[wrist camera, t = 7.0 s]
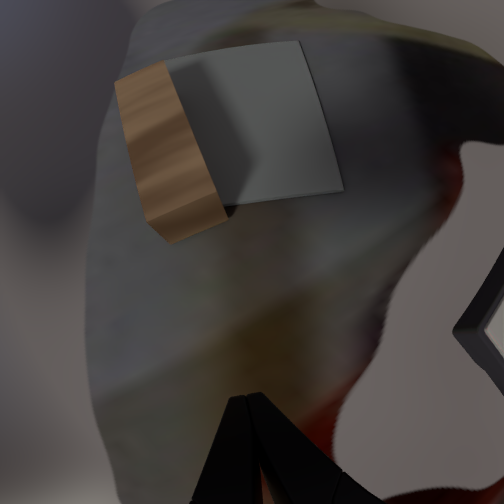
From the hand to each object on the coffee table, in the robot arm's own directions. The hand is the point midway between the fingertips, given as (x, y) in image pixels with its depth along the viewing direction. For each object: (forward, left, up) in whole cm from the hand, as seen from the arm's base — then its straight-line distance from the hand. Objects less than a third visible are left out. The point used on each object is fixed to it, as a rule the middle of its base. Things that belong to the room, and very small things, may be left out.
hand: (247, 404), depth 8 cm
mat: (+21, 0, -13) cm, 24 cm away
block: (+10, +4, -10) cm, 15 cm away
